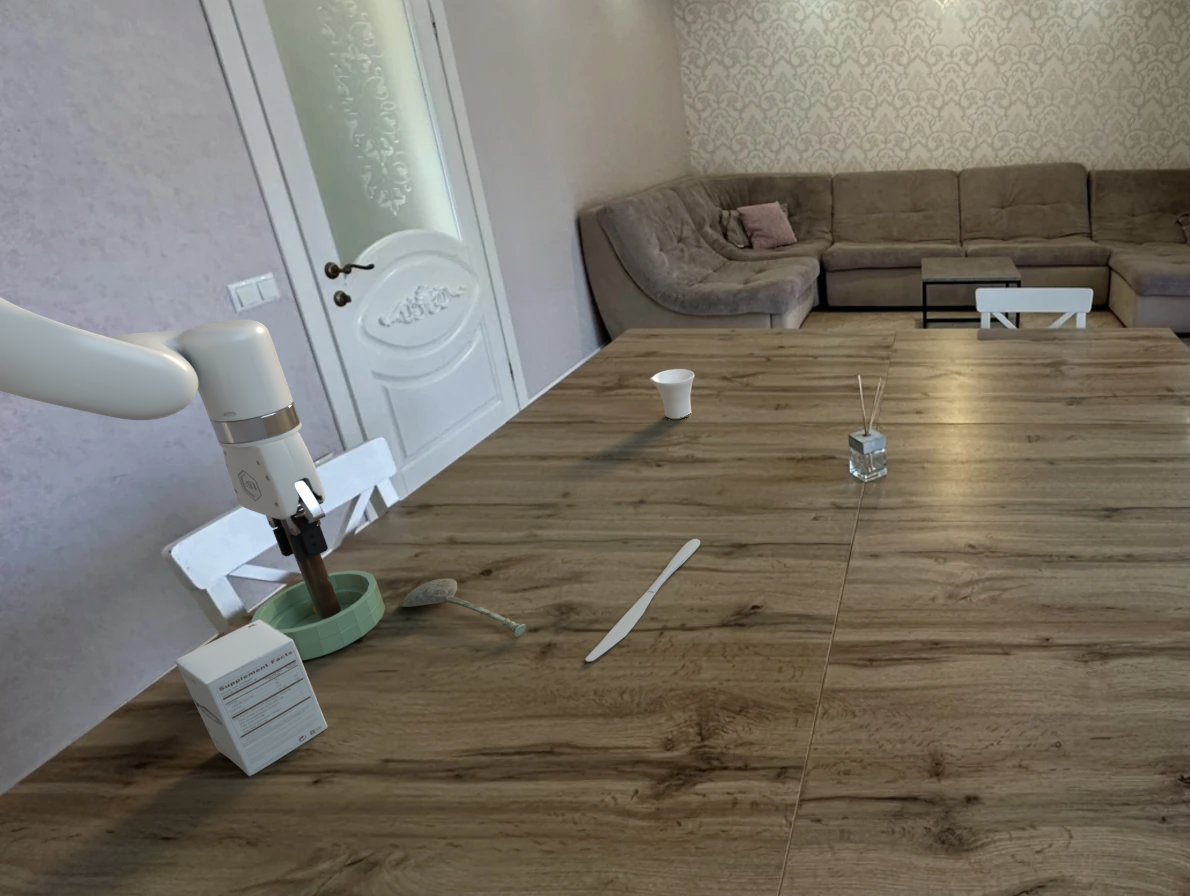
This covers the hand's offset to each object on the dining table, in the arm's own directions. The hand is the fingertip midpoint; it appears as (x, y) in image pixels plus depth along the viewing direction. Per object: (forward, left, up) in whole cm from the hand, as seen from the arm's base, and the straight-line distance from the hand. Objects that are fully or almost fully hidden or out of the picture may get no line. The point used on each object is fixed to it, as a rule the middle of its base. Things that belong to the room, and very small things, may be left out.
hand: (305, 552), depth 92 cm
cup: (+54, +48, -11) cm, 73 cm away
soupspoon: (+16, -7, -11) cm, 21 cm away
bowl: (0, -2, -11) cm, 11 cm away
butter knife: (+39, -15, -11) cm, 43 cm away
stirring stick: (0, 0, -10) cm, 10 cm away
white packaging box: (-2, -21, -11) cm, 24 cm away
